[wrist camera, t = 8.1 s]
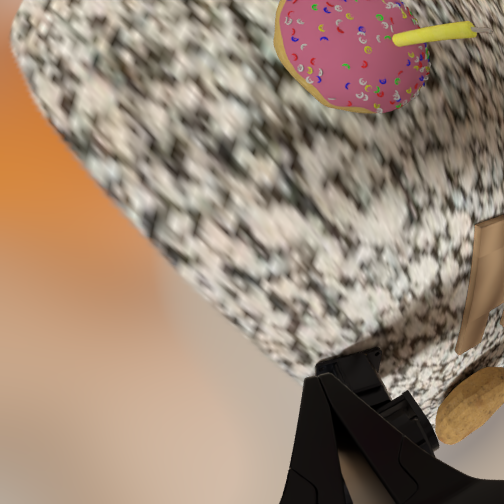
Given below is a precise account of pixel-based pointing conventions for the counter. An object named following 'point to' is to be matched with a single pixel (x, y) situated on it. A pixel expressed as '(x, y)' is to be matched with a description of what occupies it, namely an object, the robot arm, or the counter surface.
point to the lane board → (483, 282)
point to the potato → (470, 405)
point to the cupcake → (359, 50)
